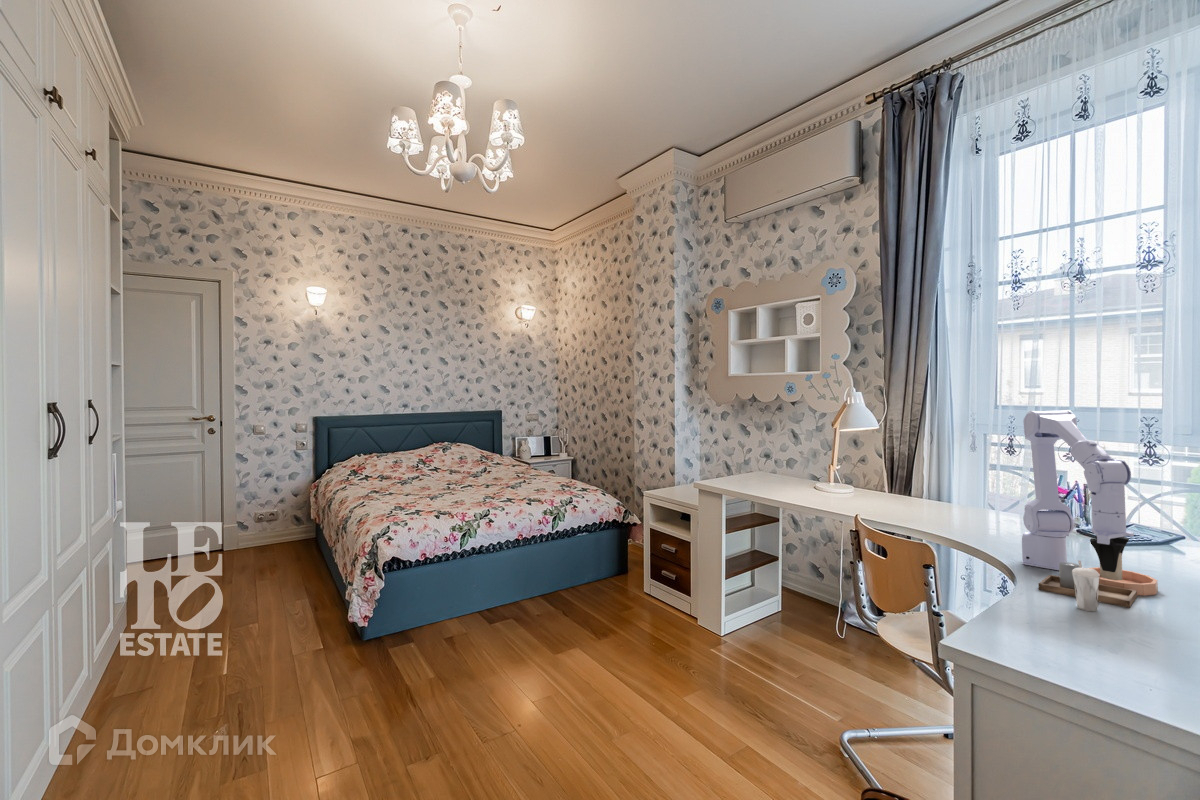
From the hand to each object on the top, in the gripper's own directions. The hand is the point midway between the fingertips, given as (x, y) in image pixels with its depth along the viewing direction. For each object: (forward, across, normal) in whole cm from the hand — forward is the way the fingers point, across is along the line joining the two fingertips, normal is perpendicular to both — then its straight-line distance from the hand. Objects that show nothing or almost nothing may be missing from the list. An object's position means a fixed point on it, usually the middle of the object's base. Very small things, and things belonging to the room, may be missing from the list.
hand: (1110, 569), depth 123 cm
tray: (+7, 0, +4) cm, 8 cm away
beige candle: (+2, 0, 0) cm, 2 cm away
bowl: (+7, +12, 0) cm, 14 cm away
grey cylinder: (+6, 0, +7) cm, 10 cm away
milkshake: (+7, -12, +2) cm, 14 cm away
